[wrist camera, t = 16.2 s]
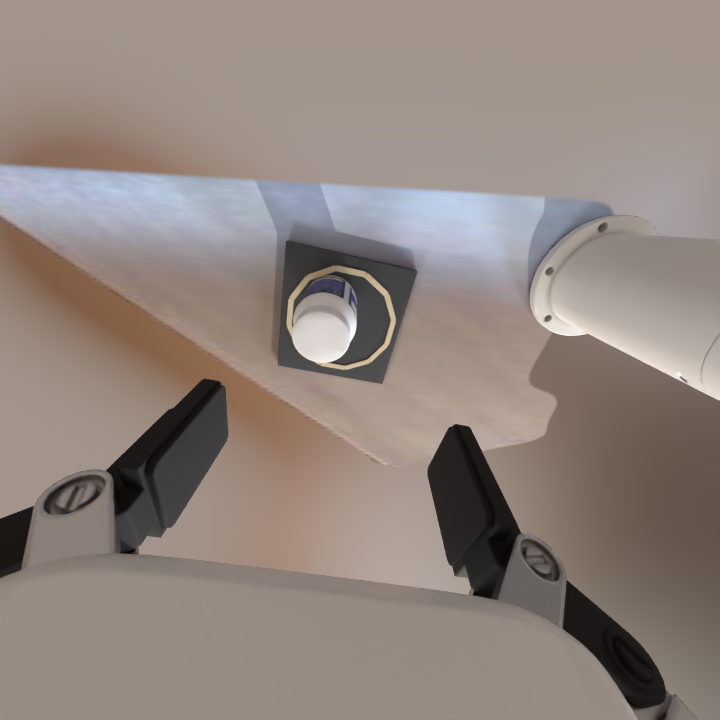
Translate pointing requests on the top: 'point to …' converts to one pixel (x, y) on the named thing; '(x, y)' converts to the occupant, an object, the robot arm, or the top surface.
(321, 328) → the pill bottle
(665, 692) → the robot arm
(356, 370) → the board
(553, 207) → the top surface
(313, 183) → the top surface
